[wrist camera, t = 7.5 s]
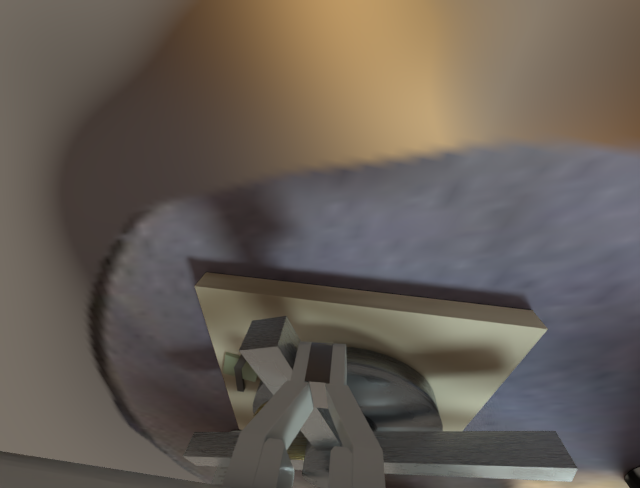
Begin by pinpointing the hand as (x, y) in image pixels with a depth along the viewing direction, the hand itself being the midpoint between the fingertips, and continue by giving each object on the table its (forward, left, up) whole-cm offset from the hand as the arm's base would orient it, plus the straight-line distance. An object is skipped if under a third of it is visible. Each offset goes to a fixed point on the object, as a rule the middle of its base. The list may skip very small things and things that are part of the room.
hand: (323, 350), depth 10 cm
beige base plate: (-9, -2, -4) cm, 10 cm away
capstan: (-9, -2, -3) cm, 10 cm away
